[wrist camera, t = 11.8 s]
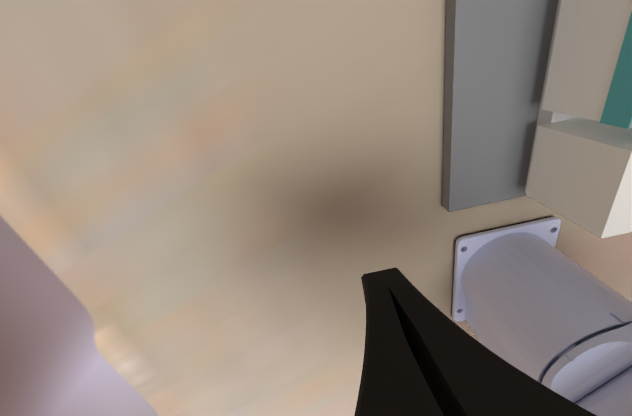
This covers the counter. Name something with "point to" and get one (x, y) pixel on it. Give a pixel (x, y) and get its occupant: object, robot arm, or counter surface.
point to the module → (592, 62)
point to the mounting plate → (524, 122)
